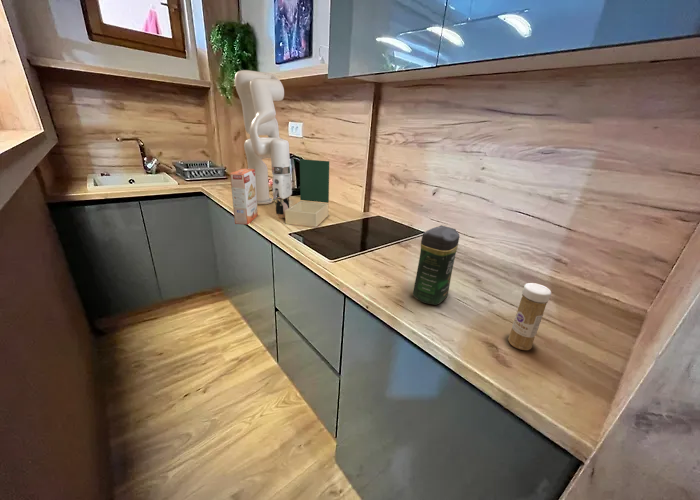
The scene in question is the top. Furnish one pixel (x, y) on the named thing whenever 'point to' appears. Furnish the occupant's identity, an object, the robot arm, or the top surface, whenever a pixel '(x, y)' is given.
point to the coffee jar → (435, 264)
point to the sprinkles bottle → (529, 315)
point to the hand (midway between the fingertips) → (282, 211)
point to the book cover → (314, 180)
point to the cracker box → (244, 195)
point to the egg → (283, 210)
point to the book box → (306, 213)
